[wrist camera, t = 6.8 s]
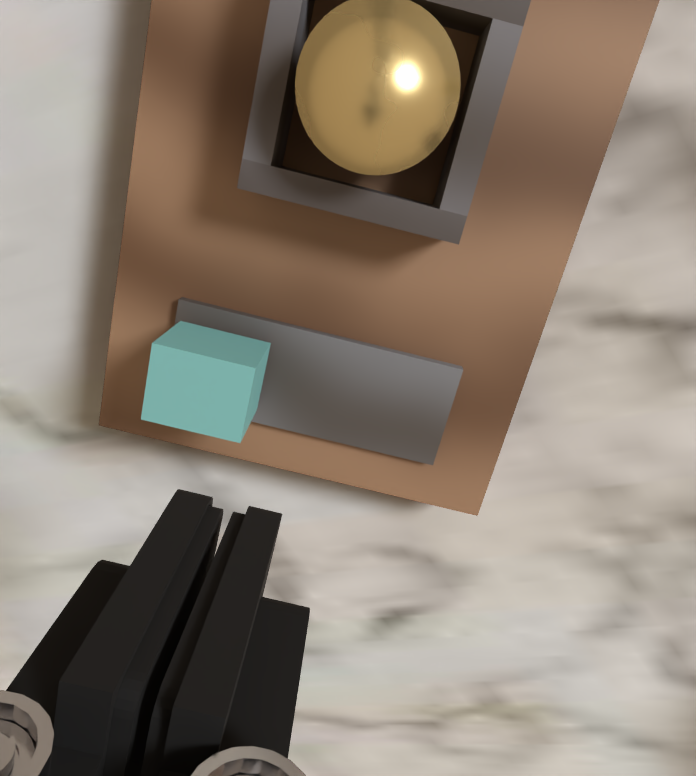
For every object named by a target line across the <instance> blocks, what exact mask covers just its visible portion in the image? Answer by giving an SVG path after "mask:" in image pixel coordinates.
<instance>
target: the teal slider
mask: <svg viewBox="0 0 696 776" xmlns="http://www.w3.org/2000/svg"><path fill="white" fill-rule="evenodd" d="M270 345H271V343H269V342H265V341H261V340H257V339H253V338H248V337H244V336H240V335H236V334H232V333H228V332H224V331H220V330H216V329H212V328H208V327H204V326H200V325H196V324H192V323H188V322H183V321H180V322H178V323H177V324H176V325H175V326H173V327H172V328H171V329H169V330H168V331H167V332H166V333H164V334H163V335H162V336H160V337H159V338H158V339H156V340H155V341H154V342H153V343H152V347H151V353H150V360H149V367H148V374H147V381H146V387H145V394H144V401H143V408H142V415H141V420H145V421H150V422H154V423H158V424H162V425H166V426H170V427H175V428H179V429H183V430H187V431H191V432H195V433H200V434H204V435H208V436H212V437H216V438H220V439H225V440H229V441H233V442H237V443H241V441H242V439H243V437H244V435H245V433H246V431H247V429H248V427H249V425H250V423H251V421H252V419H253V417H254V415H255V413H256V411H257V407H258V402H259V397H260V393H261V388H262V383H263V378H264V374H265V369H266V364H267V360H268V355H269V350H270Z"/></svg>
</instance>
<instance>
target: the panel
mask: <svg viewBox="0 0 696 776" xmlns="http://www.w3.org/2000/svg"><path fill="white" fill-rule="evenodd" d="M346 1H349V0H152V1H151V9H150V17H149V25H148V33H147V41H146V49H145V57H144V65H143V73H142V81H141V89H140V97H139V105H138V113H137V121H136V129H135V137H134V145H133V154H132V162H131V170H130V178H129V186H128V194H127V202H126V210H125V218H124V226H123V234H122V242H121V250H120V258H119V266H118V274H117V282H116V290H115V298H114V306H113V314H112V322H111V331H110V339H109V347H108V355H107V363H106V371H105V379H104V387H103V395H102V403H101V411H100V419H99V425H100V426H104V427H108V428H113V429H117V430H121V431H125V432H129V433H133V434H138V435H142V436H146V437H150V438H154V439H159V440H163V441H167V442H171V443H175V444H180V445H184V446H188V447H192V448H196V449H200V450H205V451H209V452H213V453H217V454H221V455H226V456H230V457H234V458H238V459H242V460H247V461H251V462H255V463H259V464H263V465H267V466H272V467H276V468H280V469H284V470H288V471H293V472H297V473H301V474H305V475H309V476H313V477H318V478H322V479H326V480H330V481H334V482H339V483H343V484H347V485H351V486H355V487H360V488H364V489H368V490H372V491H376V492H380V493H385V494H389V495H393V496H397V497H401V498H406V499H410V500H414V501H418V502H422V503H427V504H431V505H435V506H439V507H443V508H447V509H452V510H456V511H460V512H464V513H468V514H473V515H478V513H479V510H480V507H481V504H482V501H483V498H484V496H485V493H486V490H487V487H488V484H489V481H490V479H491V476H492V473H493V470H494V467H495V464H496V462H497V459H498V456H499V453H500V450H501V448H502V445H503V442H504V439H505V436H506V433H507V431H508V428H509V425H510V422H511V419H512V416H513V414H514V411H515V408H516V405H517V402H518V399H519V397H520V394H521V391H522V388H523V385H524V382H525V380H526V377H527V374H528V371H529V368H530V365H531V363H532V360H533V357H534V354H535V351H536V348H537V346H538V343H539V340H540V337H541V334H542V331H543V329H544V326H545V323H546V320H547V317H548V314H549V312H550V309H551V306H552V303H553V300H554V297H555V295H556V292H557V289H558V286H559V283H560V280H561V278H562V275H563V272H564V269H565V266H566V263H567V261H568V258H569V255H570V252H571V249H572V247H573V244H574V241H575V238H576V235H577V232H578V230H579V227H580V224H581V221H582V218H583V215H584V213H585V210H586V207H587V204H588V201H589V198H590V196H591V193H592V190H593V187H594V184H595V181H596V179H597V176H598V173H599V170H600V167H601V164H602V162H603V159H604V156H605V153H606V150H607V147H608V145H609V142H610V139H611V136H612V133H613V130H614V128H615V125H616V122H617V119H618V116H619V113H620V111H621V108H622V105H623V102H624V99H625V96H626V94H627V91H628V88H629V85H630V82H631V79H632V77H633V74H634V71H635V68H636V65H637V63H638V60H639V57H640V54H641V51H642V48H643V46H644V43H645V40H646V37H647V34H648V31H649V29H650V26H651V23H652V20H653V17H654V14H655V12H656V9H657V6H658V3H659V0H410V1H412V2H414V3H416V4H418V5H420V6H421V7H423V8H424V9H425V10H427V11H428V12H429V13H430V14H431V15H433V16H434V17H435V18H436V19H437V20H438V22H439V23H440V24H441V25H442V27H443V28H444V29H445V31H446V33H447V34H448V36H449V38H450V39H451V42H452V44H453V47H454V49H455V52H456V55H457V59H458V62H459V69H460V82H461V87H460V98H459V103H458V107H457V111H456V114H455V117H454V120H453V122H452V124H451V126H450V128H449V130H448V132H447V134H446V135H445V137H444V138H443V140H442V141H441V142H440V144H439V145H438V146H437V147H436V149H435V150H434V151H432V152H431V153H430V154H429V155H428V156H427V157H426V158H424V159H423V160H422V161H420V162H419V163H417V164H416V165H414V166H412V167H410V168H408V169H405V170H403V171H400V172H397V173H393V174H388V175H365V174H360V173H356V172H353V171H350V170H347V169H345V168H343V167H341V166H339V165H337V164H336V163H334V162H333V161H331V160H330V159H328V158H327V157H326V156H325V155H324V154H323V153H322V152H321V151H320V150H319V149H318V148H317V147H316V146H315V144H314V143H313V142H312V140H311V139H310V137H309V136H308V134H307V132H306V130H305V128H304V126H303V124H302V121H301V118H300V116H299V112H298V108H297V104H296V95H295V77H296V69H297V65H298V61H299V57H300V54H301V51H302V49H303V46H304V44H305V42H306V40H307V38H308V37H309V35H310V33H311V32H312V30H313V29H314V28H315V26H316V25H317V24H318V23H319V22H320V21H321V19H322V18H323V17H324V16H325V15H327V14H328V13H329V12H330V11H331V10H333V9H334V8H336V7H337V6H339V5H341V4H342V3H344V2H346ZM180 321H183V322H188V323H192V324H196V325H200V326H204V327H208V328H212V329H216V330H220V331H224V332H228V333H232V334H236V335H240V336H244V337H248V338H253V339H257V340H261V341H265V342H269V343H271V345H270V350H269V355H268V360H267V364H266V369H265V374H264V378H263V383H262V388H261V393H260V397H259V402H258V407H257V411H256V413H255V415H254V417H253V419H252V421H251V423H250V425H249V427H248V429H247V431H246V433H245V435H244V437H243V439H242V441H241V443H237V442H233V441H229V440H225V439H220V438H216V437H212V436H208V435H204V434H200V433H195V432H191V431H187V430H183V429H179V428H175V427H170V426H166V425H162V424H158V423H154V422H150V421H145V420H141V415H142V408H143V401H144V394H145V387H146V381H147V374H148V367H149V360H150V353H151V347H152V343H153V342H154V341H155V340H156V339H158V338H159V337H160V336H162V335H163V334H164V333H166V332H167V331H168V330H169V329H171V328H172V327H173V326H175V325H176V324H177V323H178V322H180Z"/></svg>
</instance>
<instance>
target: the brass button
mask: <svg viewBox="0 0 696 776" xmlns="http://www.w3.org/2000/svg"><path fill="white" fill-rule="evenodd" d="M460 87H461V82H460V69H459V62H458V59H457V55H456V52H455V49H454V47H453V44H452V42H451V39H450V38H449V36H448V34H447V33H446V31H445V29H444V28H443V27H442V25H441V24H440V23H439V22H438V20H437V19H436V18H435V17H434V16H433V15H431V14H430V13H429V12H428V11H427V10H425V9H424V8H423V7H421V6H420V5H418V4H416V3H414V2H412V1H410V0H349V1H346V2H344V3H342V4H341V5H339V6H337V7H336V8H334V9H333V10H331V11H330V12H329V13H328V14H327V15H325V16H324V17H323V18H322V19H321V21H320V22H319V23H318V24H317V25H316V26H315V28H314V29H313V30H312V32H311V33H310V35H309V37H308V38H307V40H306V42H305V44H304V46H303V49H302V51H301V54H300V57H299V61H298V65H297V69H296V77H295V95H296V104H297V108H298V112H299V116H300V118H301V121H302V124H303V126H304V128H305V130H306V132H307V134H308V136H309V137H310V139H311V140H312V142H313V143H314V144H315V146H316V147H317V148H318V149H319V150H320V151H321V152H322V153H323V154H324V155H325V156H326V157H327V158H328V159H330V160H331V161H333V162H334V163H336V164H337V165H339V166H341V167H343V168H345V169H347V170H350V171H353V172H356V173H360V174H365V175H388V174H393V173H397V172H400V171H403V170H405V169H408V168H410V167H412V166H414V165H416V164H417V163H419V162H420V161H422V160H423V159H424V158H426V157H427V156H428V155H429V154H430V153H431V152H432V151H434V150H435V149H436V147H437V146H438V145H439V144H440V142H441V141H442V140H443V138H444V137H445V135H446V134H447V132H448V130H449V128H450V126H451V124H452V122H453V120H454V117H455V114H456V111H457V107H458V103H459V98H460Z"/></svg>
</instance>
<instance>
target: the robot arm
mask: <svg viewBox="0 0 696 776" xmlns="http://www.w3.org/2000/svg"><path fill="white" fill-rule="evenodd" d="M212 503H213V498H212V497H209V496H205V495H201V494H197V493H193V492H188V491H184V490H180V489H178V490H177V491H176V492H175V494H174V496H173V497H172V499H171V501H170V502H169V504H168V505H167V507H166V509H165V510H164V512H163V513H162V515H161V517H160V518H159V520H158V522H157V523H156V525H155V526H154V528H153V530H152V531H151V533H150V535H149V536H148V538H147V539H146V541H145V543H144V544H143V546H142V548H141V549H140V551H139V552H138V554H137V556H136V557H135V559H134V560H133V562H132V564H131V565H130V566H127V565H123V564H119V563H114V562H110V561H106V560H101V561H99V562H97V564H96V565H95V566H94V567H93V568H92V570H91V571H90V573H89V574H88V575H87V577H86V578H85V580H84V581H83V582H82V584H81V585H80V587H79V588H78V590H77V591H76V592H75V594H74V595H73V597H72V598H71V599H70V601H69V602H68V604H67V605H66V606H65V608H64V609H63V611H62V612H61V614H60V615H59V616H58V618H57V619H56V621H55V622H54V623H53V625H52V626H51V628H50V629H49V631H48V632H47V633H46V635H45V636H44V638H43V639H42V640H41V642H40V643H39V645H38V646H37V647H36V649H35V650H34V652H33V653H32V655H31V656H30V657H29V659H28V660H27V662H26V663H25V664H24V666H23V667H22V669H21V670H20V672H19V673H18V674H17V676H16V677H15V679H14V680H13V681H12V683H11V684H10V686H9V687H8V689H7V690H6V691H4V690H0V776H306V775H305V774H304V773H303V772H302V771H301V770H300V769H299V768H298V767H297V766H296V765H295V764H294V763H293V762H292V761H291V760H289V759H288V752H289V746H290V739H291V732H292V726H293V719H294V713H295V706H296V700H297V693H298V686H299V680H300V673H301V667H302V660H303V653H304V647H305V640H306V634H307V627H308V621H309V613H310V608H308V607H304V606H299V605H295V604H291V603H286V602H282V601H278V600H273V599H269V598H265V597H262V596H263V592H264V588H265V584H266V580H267V575H268V571H269V567H270V563H271V559H272V555H273V551H274V546H275V542H276V538H277V534H278V530H279V526H280V521H281V517H282V514H281V513H277V512H272V511H268V510H264V509H260V508H256V507H251V506H249V507H248V509H247V512H246V515H245V514H241V513H237V512H233V514H232V516H231V518H230V521H229V523H228V525H227V528H226V530H225V533H224V535H223V537H222V540H221V542H220V545H219V547H218V549H217V552H216V554H215V551H216V546H217V541H218V536H219V531H220V526H221V522H222V516H223V509H220V508H216V507H212ZM214 556H215V557H214Z"/></svg>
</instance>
